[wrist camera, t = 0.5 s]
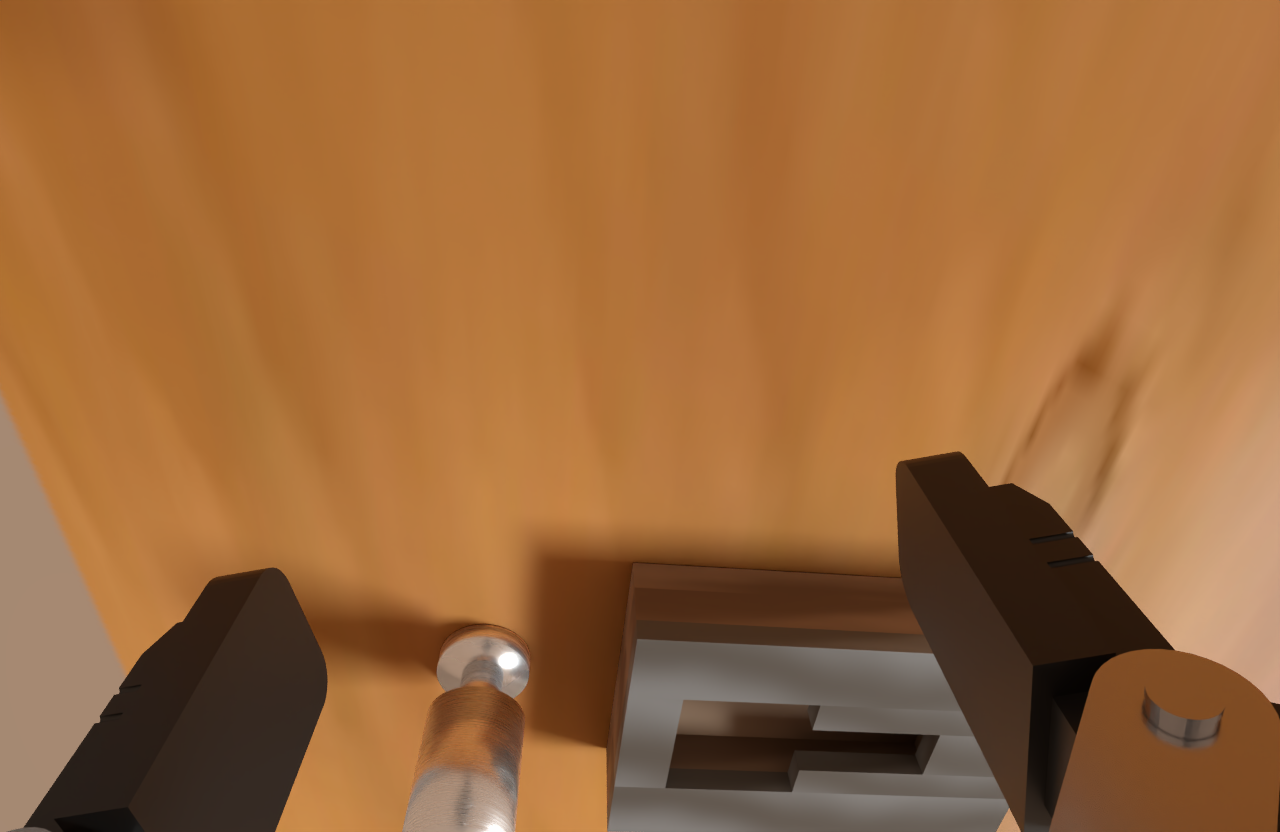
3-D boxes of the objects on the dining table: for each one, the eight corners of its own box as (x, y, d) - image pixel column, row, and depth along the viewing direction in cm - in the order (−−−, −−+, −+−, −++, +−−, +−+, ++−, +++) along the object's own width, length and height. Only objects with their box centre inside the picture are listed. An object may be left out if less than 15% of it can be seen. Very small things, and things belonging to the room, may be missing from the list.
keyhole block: (633, 562, 35) (637, 639, 31) (1040, 586, 37) (1089, 661, 33) (606, 749, 41) (607, 831, 38) (956, 762, 43) (990, 841, 39)
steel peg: (440, 622, 36) (395, 823, 28) (532, 626, 37) (514, 827, 29) (440, 685, 38) (399, 891, 30) (528, 689, 39) (510, 893, 31)
